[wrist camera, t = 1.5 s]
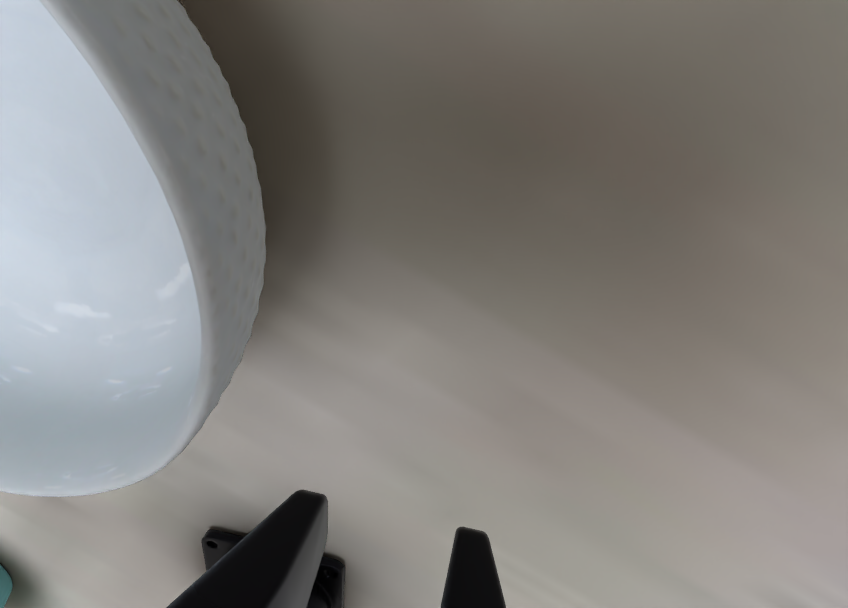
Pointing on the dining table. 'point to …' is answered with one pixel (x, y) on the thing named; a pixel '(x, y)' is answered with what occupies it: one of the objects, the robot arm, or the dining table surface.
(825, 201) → the dining table surface
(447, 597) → the robot arm
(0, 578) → the cupcake
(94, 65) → the cereal bowl
